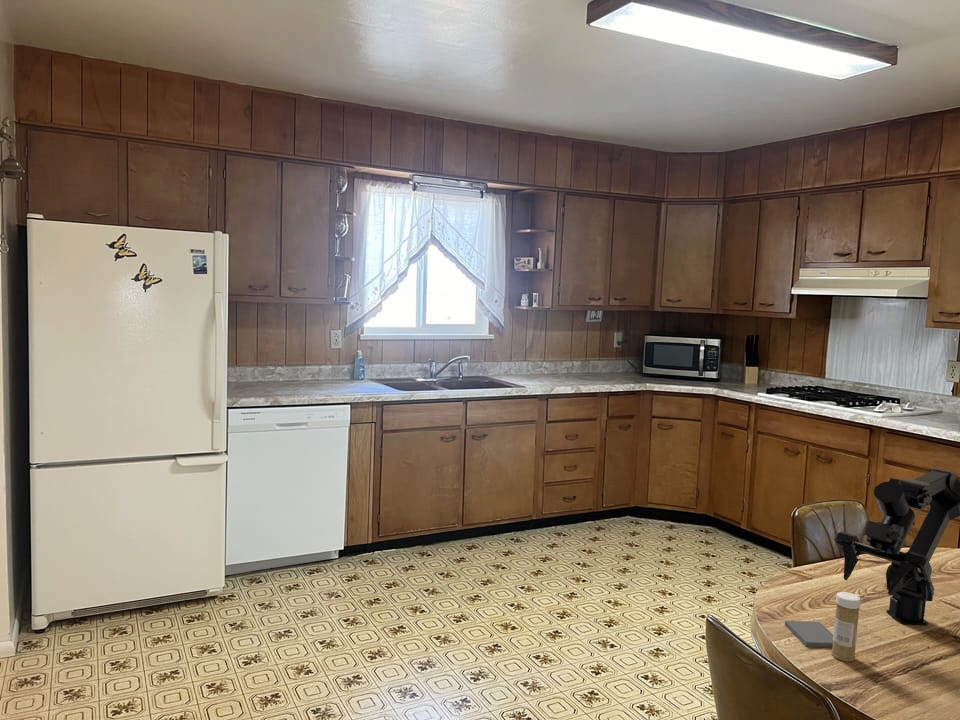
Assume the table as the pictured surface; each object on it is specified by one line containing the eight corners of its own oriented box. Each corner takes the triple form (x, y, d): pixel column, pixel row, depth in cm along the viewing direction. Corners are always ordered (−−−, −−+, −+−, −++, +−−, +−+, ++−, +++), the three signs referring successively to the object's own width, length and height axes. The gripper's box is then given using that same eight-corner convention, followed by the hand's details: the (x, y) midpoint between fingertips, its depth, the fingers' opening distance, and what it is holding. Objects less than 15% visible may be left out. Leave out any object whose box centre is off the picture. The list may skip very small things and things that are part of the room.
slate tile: (818, 625, 165) (819, 621, 165) (841, 647, 155) (842, 643, 155) (784, 624, 165) (785, 620, 165) (805, 646, 155) (806, 642, 155)
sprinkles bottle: (859, 659, 151) (865, 597, 149) (847, 664, 148) (853, 602, 147) (838, 649, 154) (844, 589, 153) (826, 654, 152) (832, 593, 151)
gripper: (842, 496, 164) (813, 552, 158) (932, 519, 149) (904, 582, 144) (854, 524, 169) (827, 579, 164) (943, 549, 155) (916, 610, 149)
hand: (866, 586), depth 155 cm, fingers open, 9 cm apart
